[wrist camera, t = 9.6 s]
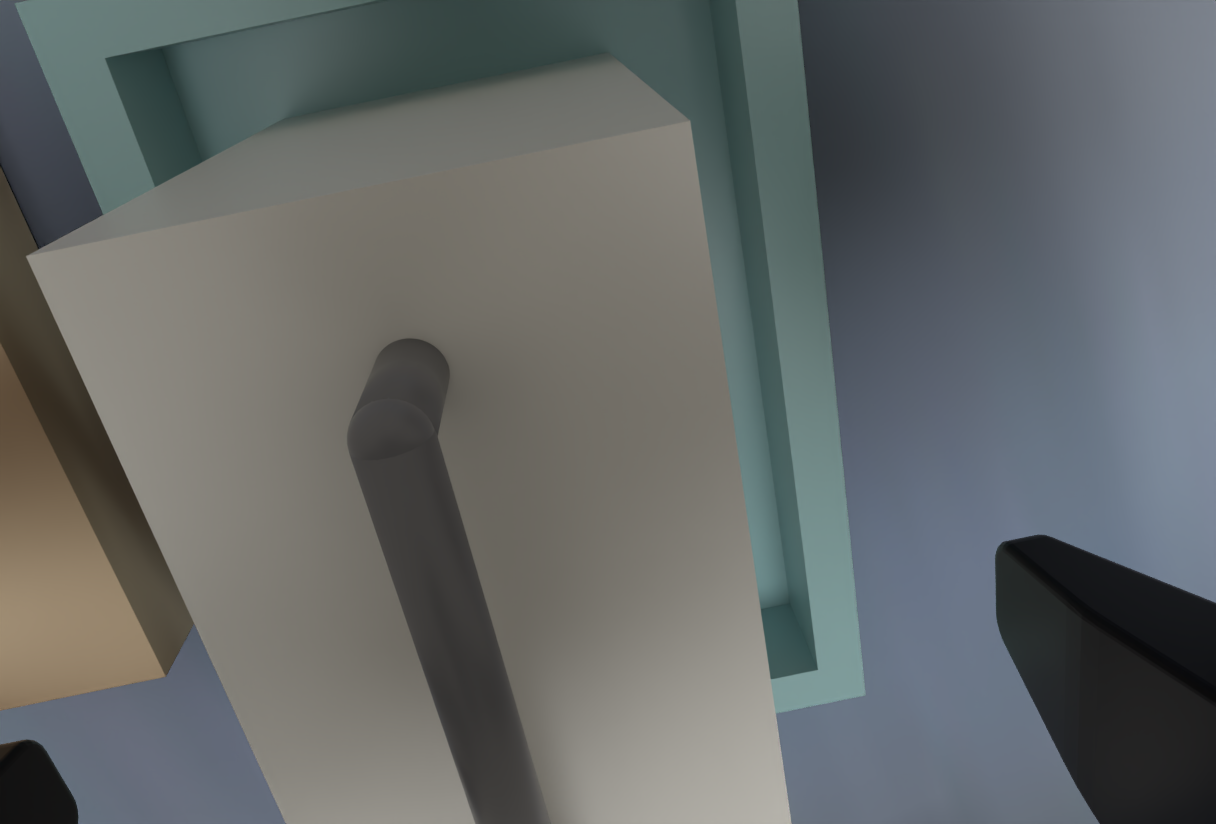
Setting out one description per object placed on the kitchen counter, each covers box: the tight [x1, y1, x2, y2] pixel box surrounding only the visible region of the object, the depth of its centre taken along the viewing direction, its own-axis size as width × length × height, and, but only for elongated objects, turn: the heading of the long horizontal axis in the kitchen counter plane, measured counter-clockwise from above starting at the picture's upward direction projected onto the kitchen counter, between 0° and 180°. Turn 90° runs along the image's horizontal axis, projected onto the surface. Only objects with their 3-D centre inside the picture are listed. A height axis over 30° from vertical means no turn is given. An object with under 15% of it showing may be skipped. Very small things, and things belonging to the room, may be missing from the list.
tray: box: [14, 0, 865, 713], centre depth 15 cm, size 14×10×2 cm
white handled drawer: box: [26, 52, 791, 824], centre depth 12 cm, size 9×5×10 cm, turn 10°
